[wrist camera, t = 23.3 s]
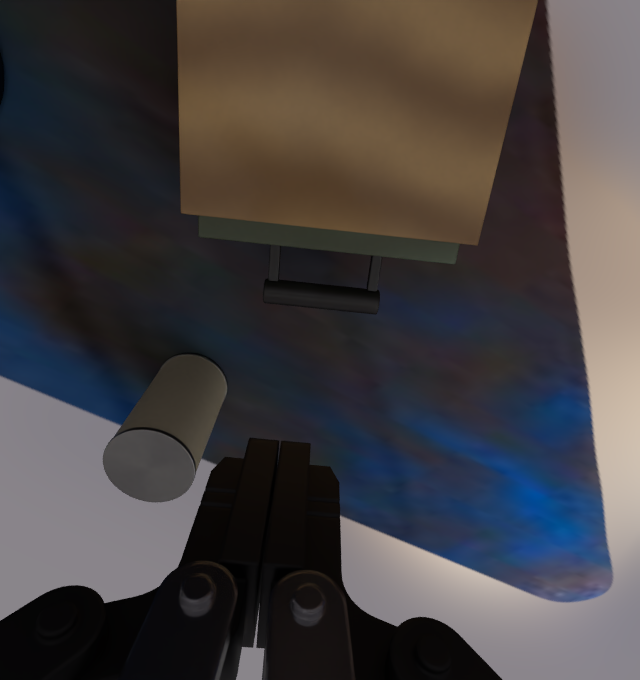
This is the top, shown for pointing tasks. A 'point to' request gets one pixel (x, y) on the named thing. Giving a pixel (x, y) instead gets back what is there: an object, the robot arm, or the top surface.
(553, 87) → the top surface
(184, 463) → the tin can
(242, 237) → the drawer
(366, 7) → the cabinet
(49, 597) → the robot arm
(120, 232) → the top surface
